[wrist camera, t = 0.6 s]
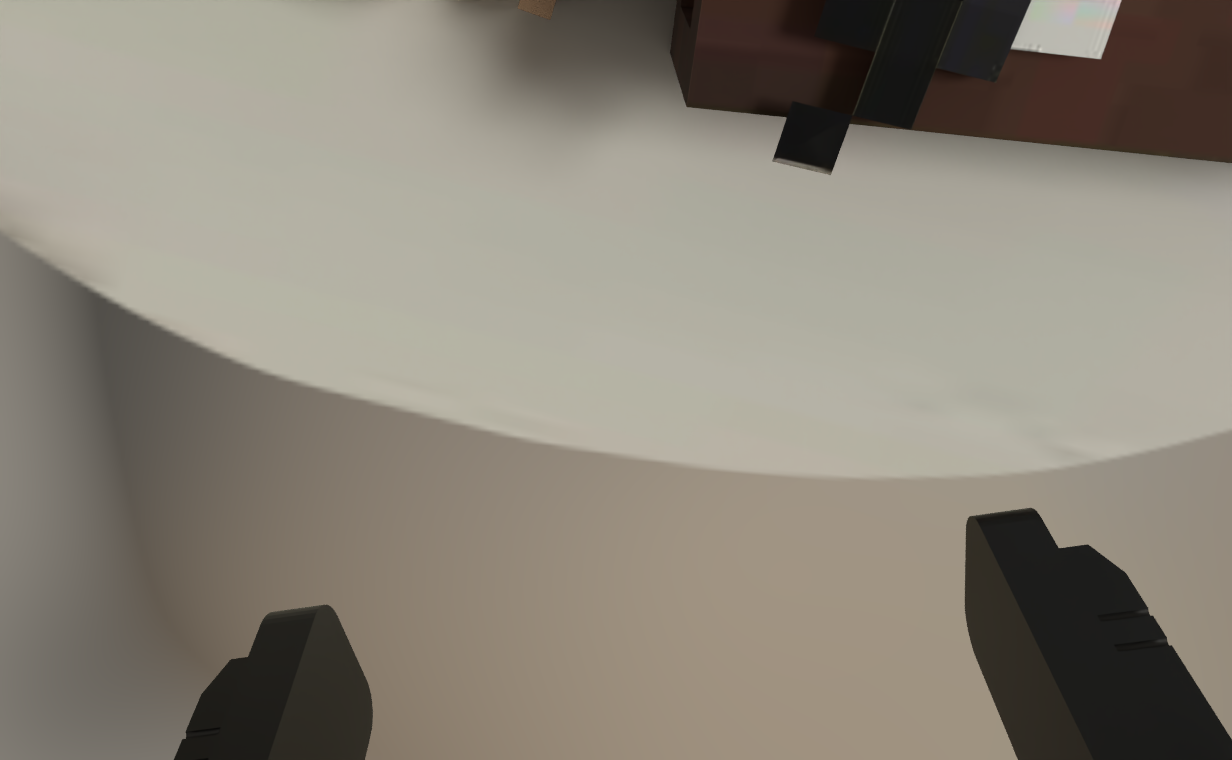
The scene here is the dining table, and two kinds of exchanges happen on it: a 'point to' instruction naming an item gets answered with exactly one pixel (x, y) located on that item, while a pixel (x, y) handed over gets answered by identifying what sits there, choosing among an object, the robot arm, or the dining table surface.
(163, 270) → the dining table surface
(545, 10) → the shelf bay
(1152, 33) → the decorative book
